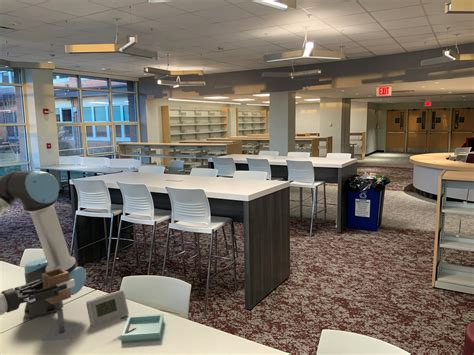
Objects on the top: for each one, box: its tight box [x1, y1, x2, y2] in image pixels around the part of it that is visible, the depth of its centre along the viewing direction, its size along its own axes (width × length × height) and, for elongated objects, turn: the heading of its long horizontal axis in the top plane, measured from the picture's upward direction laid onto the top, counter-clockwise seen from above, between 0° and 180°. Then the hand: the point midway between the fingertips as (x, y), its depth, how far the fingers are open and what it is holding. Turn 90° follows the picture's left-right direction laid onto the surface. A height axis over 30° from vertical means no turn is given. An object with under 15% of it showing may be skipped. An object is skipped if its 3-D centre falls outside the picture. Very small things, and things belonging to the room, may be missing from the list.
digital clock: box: [85, 289, 130, 327], centre depth 156 cm, size 16×9×11 cm, turn 121°
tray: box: [120, 313, 165, 344], centre depth 147 cm, size 14×14×3 cm
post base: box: [41, 308, 82, 342], centre depth 145 cm, size 11×11×10 cm
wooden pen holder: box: [41, 268, 72, 304], centre depth 142 cm, size 7×7×10 cm
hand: (69, 279), depth 146 cm, fingers closed on wooden pen holder, 7 cm apart
